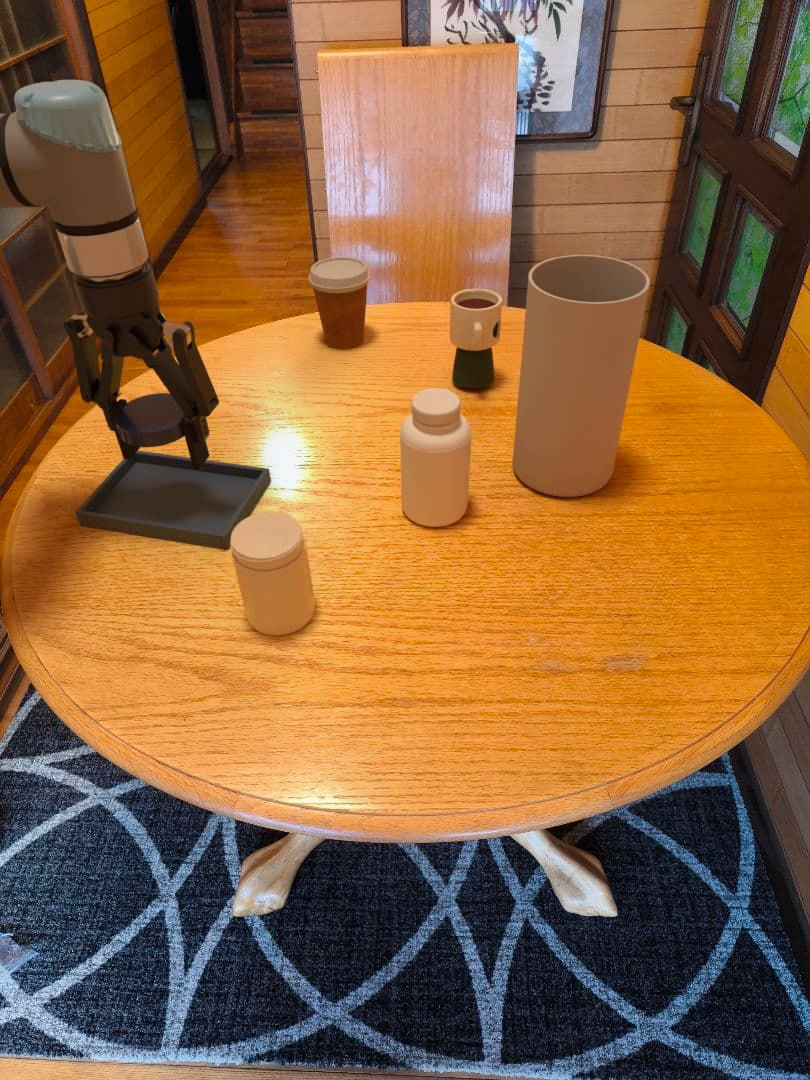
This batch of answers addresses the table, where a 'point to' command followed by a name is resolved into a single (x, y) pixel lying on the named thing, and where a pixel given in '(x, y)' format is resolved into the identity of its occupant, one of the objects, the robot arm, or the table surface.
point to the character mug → (474, 335)
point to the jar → (273, 572)
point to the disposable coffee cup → (341, 299)
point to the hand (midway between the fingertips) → (166, 457)
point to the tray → (175, 499)
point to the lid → (150, 421)
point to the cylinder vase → (576, 371)
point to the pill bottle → (435, 459)
